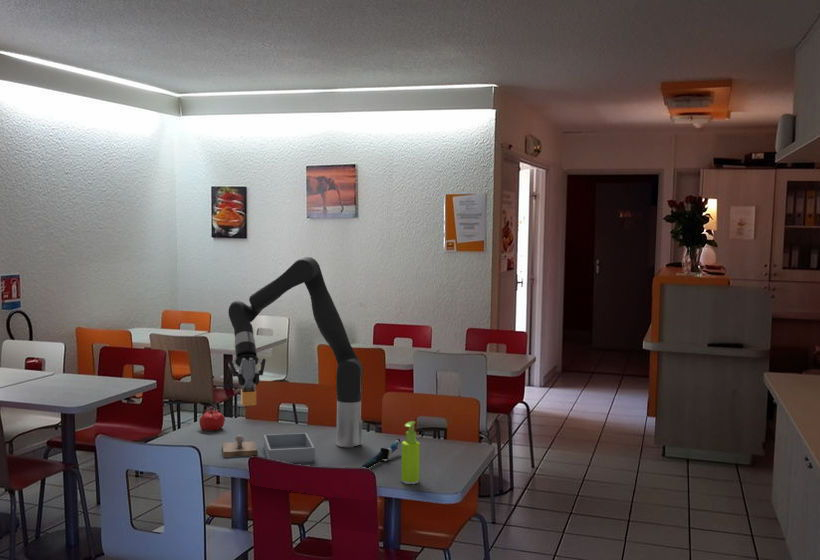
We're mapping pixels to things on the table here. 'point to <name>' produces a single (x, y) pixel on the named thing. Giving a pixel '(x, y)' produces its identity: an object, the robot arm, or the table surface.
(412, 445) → the soap dispenser
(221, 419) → the red tomato
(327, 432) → the table surface
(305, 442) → the bin
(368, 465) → the knife
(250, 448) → the stud block
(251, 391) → the strut
